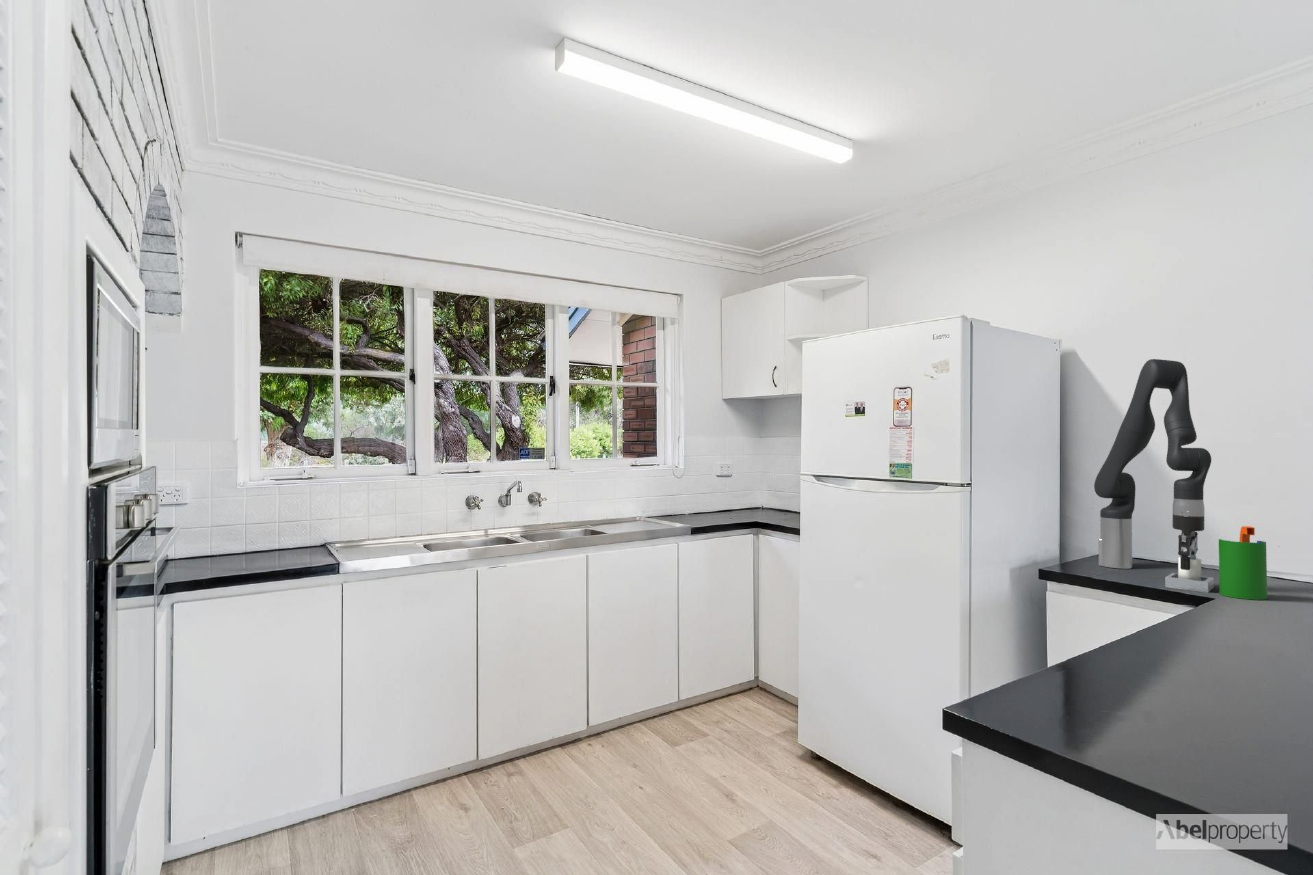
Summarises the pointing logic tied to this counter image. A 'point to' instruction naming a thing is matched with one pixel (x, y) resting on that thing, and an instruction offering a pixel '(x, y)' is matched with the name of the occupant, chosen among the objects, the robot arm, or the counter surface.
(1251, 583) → the green cylindrical container
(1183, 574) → the white cylinder
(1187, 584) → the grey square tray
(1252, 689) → the counter surface
